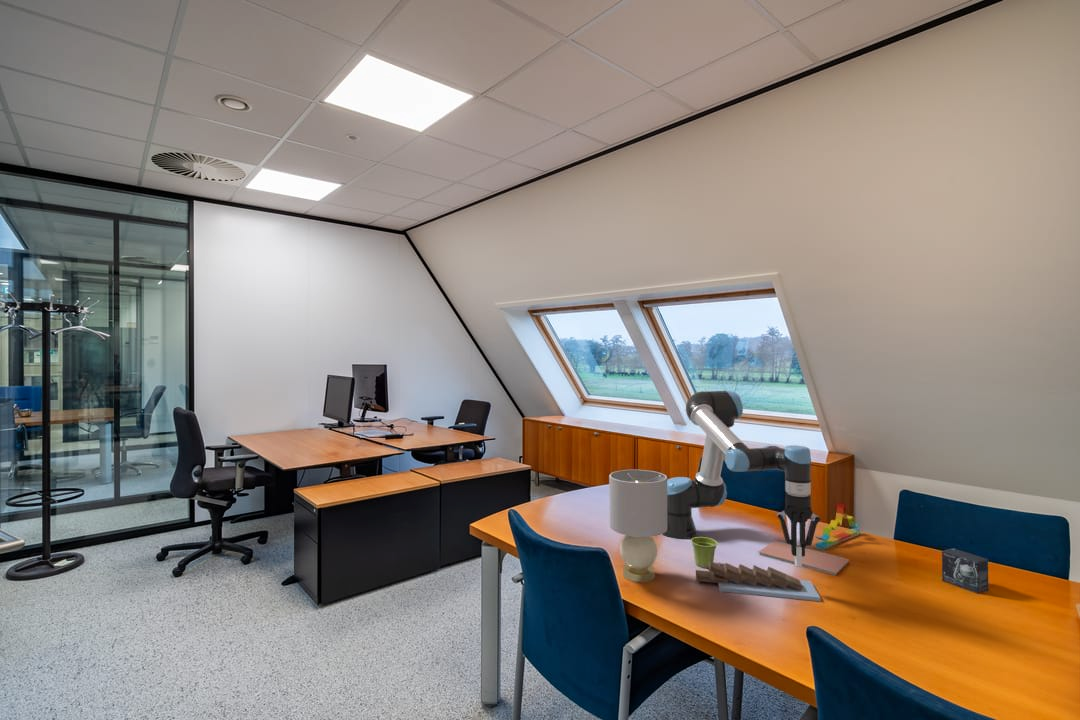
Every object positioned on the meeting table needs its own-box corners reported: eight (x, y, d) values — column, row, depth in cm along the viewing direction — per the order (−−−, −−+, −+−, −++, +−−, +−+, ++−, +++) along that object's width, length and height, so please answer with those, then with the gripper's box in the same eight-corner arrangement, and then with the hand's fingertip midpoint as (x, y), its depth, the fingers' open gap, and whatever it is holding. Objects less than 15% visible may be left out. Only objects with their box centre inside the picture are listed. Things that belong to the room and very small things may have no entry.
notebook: (850, 563, 189) (850, 558, 189) (836, 577, 178) (836, 571, 178) (775, 544, 209) (775, 539, 209) (758, 556, 197) (758, 551, 197)
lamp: (631, 559, 194) (631, 467, 193) (679, 575, 179) (678, 475, 179) (598, 575, 179) (597, 476, 179) (646, 594, 165) (646, 486, 165)
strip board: (719, 591, 167) (719, 587, 167) (716, 575, 179) (716, 572, 178) (820, 601, 159) (820, 597, 159) (810, 584, 171) (810, 581, 171)
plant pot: (717, 561, 191) (717, 538, 191) (717, 571, 182) (717, 547, 182) (691, 558, 194) (691, 535, 194) (690, 568, 185) (690, 544, 185)
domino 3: (755, 586, 167) (725, 572, 170) (753, 579, 172) (724, 566, 175) (757, 582, 167) (727, 568, 170) (755, 575, 172) (725, 562, 174)
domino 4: (770, 587, 166) (739, 574, 169) (767, 581, 171) (737, 568, 173) (772, 583, 166) (741, 569, 168) (769, 577, 171) (739, 563, 173)
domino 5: (785, 589, 165) (754, 575, 167) (782, 582, 170) (752, 569, 172) (787, 584, 165) (756, 571, 167) (784, 578, 170) (754, 565, 172)
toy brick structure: (823, 550, 201) (823, 513, 201) (815, 548, 204) (815, 510, 204) (860, 535, 218) (860, 500, 218) (852, 533, 221) (852, 498, 220)
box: (941, 581, 173) (940, 550, 173) (952, 577, 176) (952, 547, 175) (978, 594, 163) (978, 562, 163) (989, 590, 166) (989, 558, 166)
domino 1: (727, 583, 170) (696, 580, 172) (726, 577, 174) (695, 574, 177) (727, 579, 170) (696, 576, 172) (726, 572, 174) (695, 569, 177)
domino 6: (800, 590, 164) (769, 577, 166) (797, 584, 169) (766, 570, 171) (802, 586, 164) (771, 572, 166) (799, 579, 169) (768, 566, 171)
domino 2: (738, 584, 169) (709, 570, 171) (736, 577, 174) (708, 564, 176) (740, 579, 169) (711, 566, 171) (738, 573, 173) (709, 560, 176)
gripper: (778, 495, 164) (779, 568, 164) (823, 498, 161) (823, 572, 161) (774, 489, 171) (774, 559, 172) (816, 491, 168) (817, 562, 168)
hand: (798, 565), depth 166 cm, fingers closed
